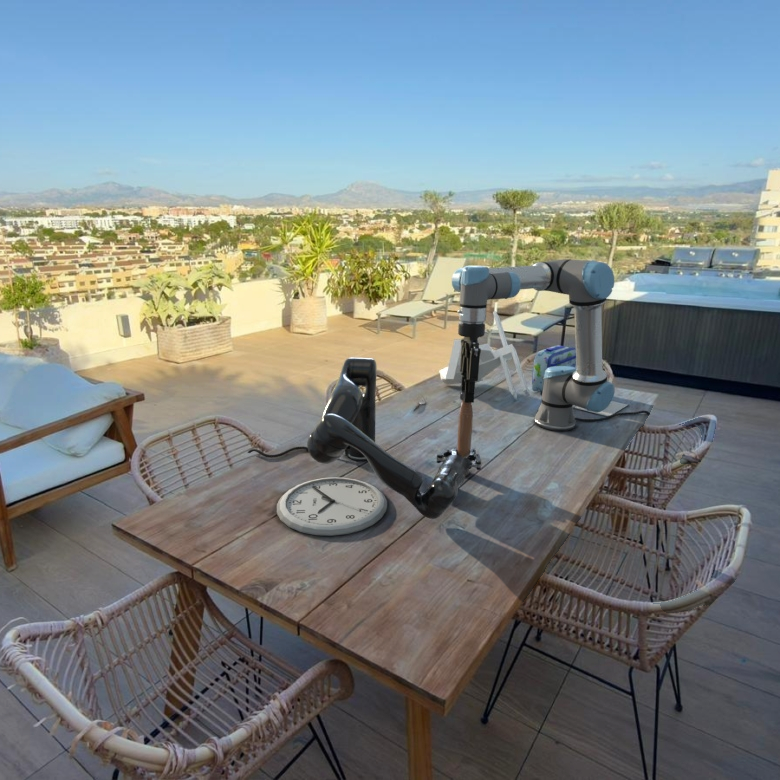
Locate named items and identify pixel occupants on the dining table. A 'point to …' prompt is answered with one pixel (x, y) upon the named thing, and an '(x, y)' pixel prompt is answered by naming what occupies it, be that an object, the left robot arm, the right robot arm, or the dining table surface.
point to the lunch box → (551, 363)
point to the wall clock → (331, 506)
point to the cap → (462, 395)
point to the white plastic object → (486, 362)
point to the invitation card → (608, 408)
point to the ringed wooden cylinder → (465, 429)
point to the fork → (420, 403)
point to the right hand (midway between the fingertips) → (467, 399)
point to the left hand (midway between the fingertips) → (465, 449)
